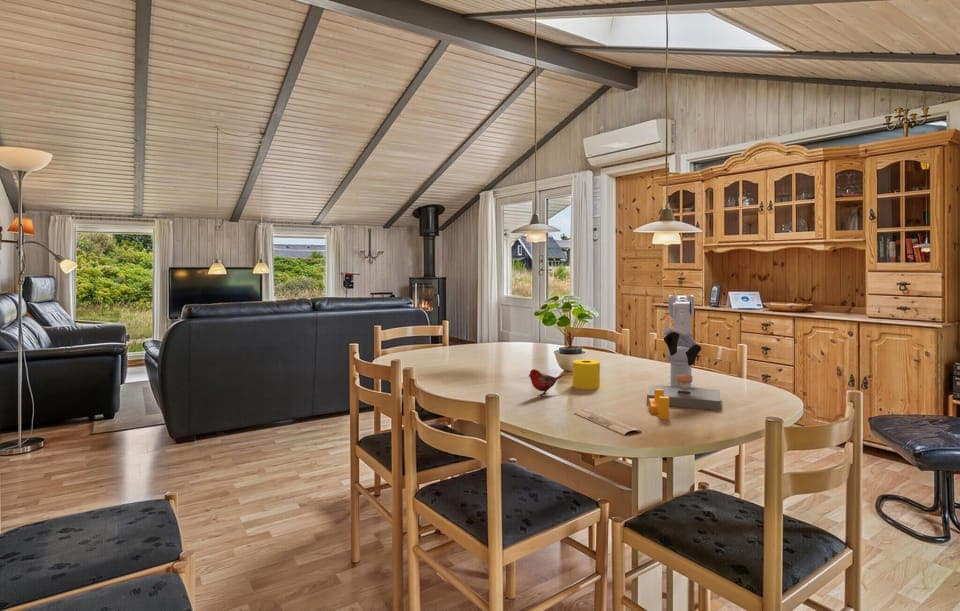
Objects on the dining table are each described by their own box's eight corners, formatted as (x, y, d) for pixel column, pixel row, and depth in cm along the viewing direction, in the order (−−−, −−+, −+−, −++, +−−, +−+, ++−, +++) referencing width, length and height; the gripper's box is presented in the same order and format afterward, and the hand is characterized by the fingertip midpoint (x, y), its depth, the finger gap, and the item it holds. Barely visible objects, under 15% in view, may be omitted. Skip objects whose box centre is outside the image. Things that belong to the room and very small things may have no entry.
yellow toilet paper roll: (583, 382, 209) (583, 358, 208) (604, 386, 201) (605, 361, 201) (567, 386, 202) (567, 361, 201) (589, 390, 195) (589, 365, 194)
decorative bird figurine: (525, 397, 185) (525, 369, 184) (561, 390, 196) (561, 363, 195) (531, 399, 183) (531, 370, 182) (567, 391, 193) (567, 364, 193)
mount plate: (651, 392, 190) (652, 384, 190) (719, 398, 182) (719, 389, 181) (646, 403, 176) (647, 394, 175) (720, 410, 167) (720, 401, 167)
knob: (676, 387, 182) (676, 373, 181) (692, 388, 180) (692, 374, 179) (675, 390, 177) (675, 376, 177) (691, 391, 175) (692, 377, 175)
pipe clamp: (648, 408, 171) (648, 388, 171) (662, 408, 170) (663, 388, 170) (653, 419, 159) (654, 397, 159) (669, 419, 159) (669, 398, 158)
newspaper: (641, 435, 146) (641, 428, 146) (621, 438, 143) (621, 432, 143) (589, 413, 168) (589, 408, 167) (570, 416, 165) (570, 410, 164)
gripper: (674, 313, 183) (673, 343, 174) (707, 332, 186) (708, 363, 177) (659, 323, 188) (658, 353, 179) (692, 342, 191) (692, 372, 182)
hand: (682, 359), depth 178 cm, fingers open, 7 cm apart
